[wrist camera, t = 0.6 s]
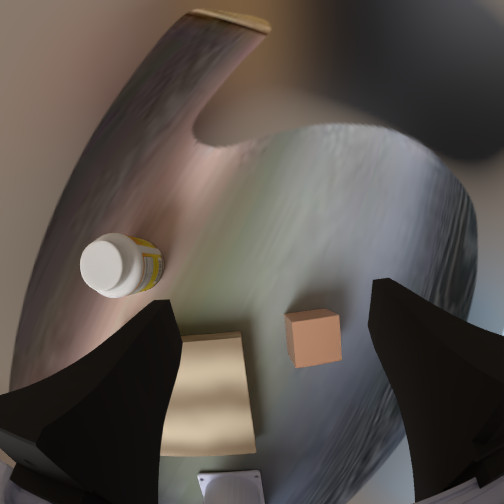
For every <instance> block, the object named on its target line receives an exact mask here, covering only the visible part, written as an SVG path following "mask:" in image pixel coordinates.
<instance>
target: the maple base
mask: <svg viewBox="0 0 504 504" xmlns="http://www.w3.org/2000/svg"><path fill="white" fill-rule="evenodd" d="M181 338H182V341H183V346H182V354H181V361H180V367H179V370H178V374H177V378H176V381H175V385H174V388H173V392H172V395H171V399H170V402H169V406H168V409H167V413H166V417H165V422H164V427H163V434H162V442H161V450H160V456H221V455H237V454H249V453H256V442H255V434H254V427H253V419H252V412H251V405H250V397H249V390H248V382H247V375H246V367H245V359H244V351H243V343H242V335H241V331H234V332H224V333H214V334H202V335H190V336H181Z"/></svg>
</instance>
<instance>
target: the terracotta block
mask: <svg viewBox="0 0 504 504" xmlns="http://www.w3.org/2000/svg"><path fill="white" fill-rule="evenodd" d="M284 317H285V327H286V337H287V347H288V355H289V356H290V358H291V360H292V362H293V364H294V366H295V367H296V368H301V367H307V366H313V365H319V364H324V363H329V362H335V361H340V360H342V355H341V336H340V321H339V315H338V314H336V313H334V312H332V311H330V310H328V309H326V308H323V309H316V310H309V311H302V312H295V313H288V314H284Z"/></svg>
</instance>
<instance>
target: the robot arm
mask: <svg viewBox="0 0 504 504" xmlns="http://www.w3.org/2000/svg"><path fill="white" fill-rule="evenodd" d="M368 328H369V332H370V335H371V339H372V342H373V345H374V348H375V350H376V353H377V355H378V357H379V359H380V362H381V364H382V366H383V368H384V371H385V373H386V375H387V377H388V380H389V382H390V384H391V386H392V389H393V391H394V393H395V396H396V398H397V401H398V404H399V407H400V411H401V415H402V418H403V422H404V426H405V430H406V435H407V439H408V444H409V450H410V456H411V462H412V468H413V478H414V490H415V503H413V504H504V336H502V335H499V334H496V333H493V332H490V331H487V330H484V329H482V328H479V327H477V326H475V325H472V324H470V323H468V322H466V321H463V320H461V319H459V318H457V317H455V316H453V315H451V314H450V313H448V312H446V311H444V310H442V309H440V308H439V307H437V306H435V305H434V304H432V303H430V302H428V301H427V300H425V299H424V298H422V297H420V296H419V295H417V294H415V293H414V292H412V291H411V290H409V289H407V288H406V287H404V286H402V285H401V284H399V283H397V282H396V281H394V280H392V279H390V278H383V279H376V280H373V284H372V294H371V303H370V312H369V320H368ZM182 346H183V341H182V338H181V335H180V332H179V329H178V326H177V323H176V320H175V316H174V313H173V310H172V307H171V303H170V300H169V299H168V300H154V301H152V302H151V303H150V304H148V305H147V306H146V307H145V308H143V309H142V310H141V311H140V312H139V313H138V314H136V315H135V316H134V317H133V318H132V319H131V320H129V321H128V322H127V323H126V324H125V325H124V326H123V327H121V328H120V329H119V330H118V331H117V332H115V333H114V334H113V335H112V336H110V337H109V338H108V339H107V340H105V341H104V342H103V343H102V344H101V345H99V346H98V347H97V348H95V349H94V350H93V351H91V352H90V353H88V354H87V355H85V356H84V357H82V358H81V359H79V360H78V361H76V362H75V363H73V364H72V365H70V366H68V367H66V368H64V369H63V370H61V371H59V372H57V373H55V374H53V375H52V376H50V377H48V378H45V379H43V380H41V381H39V382H37V383H34V384H32V385H29V386H27V387H24V388H21V389H18V390H15V391H12V392H9V393H6V394H2V395H0V448H1V449H2V450H3V451H4V452H5V453H6V454H7V455H8V456H9V457H11V458H12V459H13V460H14V461H15V462H16V465H15V467H14V468H12V467H11V466H9V465H8V464H6V463H4V462H3V461H1V460H0V504H158V477H159V461H160V450H161V442H162V434H163V427H164V422H165V417H166V413H167V409H168V406H169V402H170V399H171V395H172V392H173V388H174V385H175V381H176V378H177V374H178V370H179V367H180V361H181V354H182ZM256 475H258V476H256ZM197 477H198V480H199V484H200V487H201V490H202V494H203V497H204V501H203V504H265V501H264V495H263V488H262V482H261V475H260V471H259V470H250V471H237V472H219V473H199V474H198V476H197ZM201 478H203V479H201Z"/></svg>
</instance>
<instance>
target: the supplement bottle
mask: <svg viewBox="0 0 504 504" xmlns="http://www.w3.org/2000/svg"><path fill="white" fill-rule="evenodd" d="M80 270H81V274H82V277H83V279H84V281H85V282H86V283H87V284H88V285H89V286H90V287H91V288H93V289H95V290H96V291H97V292H99V293H100V294H102V295H104V296H106V297H110V298H120V297H124V296H128V295H131V294H135V293H138V292H142V291H146V290H148V289H151V288H152V287H154V286H155V285H156V284H157V283H158V282H159V280H160V279H161V277H162V274H163V270H164V261H163V257H162V254H161V252H160V251H159V249H158V248H157V247H156V246H155V245H154V244H152V243H151V242H149V241H146V240H143V239H139V238H135V237H131V236H127V235H124V234H120V233H109V234H105V235H103V236H101V237H99V238H98V239H97V240H96V241H94V242H92V243H91V244H89V245H88V246H87V247H86V249H85V250H84V252H83V254H82V256H81V260H80Z"/></svg>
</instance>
